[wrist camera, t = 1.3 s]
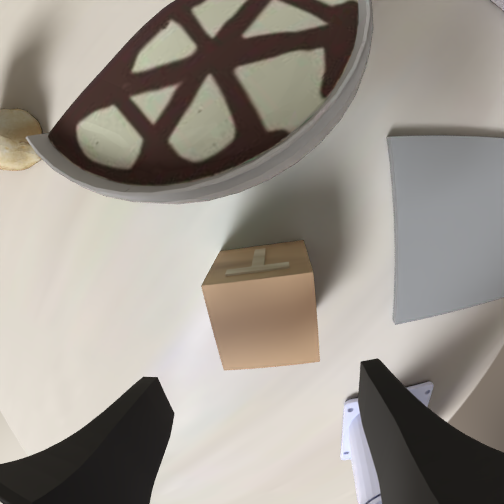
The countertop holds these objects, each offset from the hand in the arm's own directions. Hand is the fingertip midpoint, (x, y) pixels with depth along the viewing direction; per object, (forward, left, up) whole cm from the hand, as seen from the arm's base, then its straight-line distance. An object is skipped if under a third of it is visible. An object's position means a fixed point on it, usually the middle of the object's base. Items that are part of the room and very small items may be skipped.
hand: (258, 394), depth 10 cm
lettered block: (0, 0, -10) cm, 10 cm away
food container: (+10, -1, -10) cm, 14 cm away
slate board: (+2, -14, -9) cm, 17 cm away
